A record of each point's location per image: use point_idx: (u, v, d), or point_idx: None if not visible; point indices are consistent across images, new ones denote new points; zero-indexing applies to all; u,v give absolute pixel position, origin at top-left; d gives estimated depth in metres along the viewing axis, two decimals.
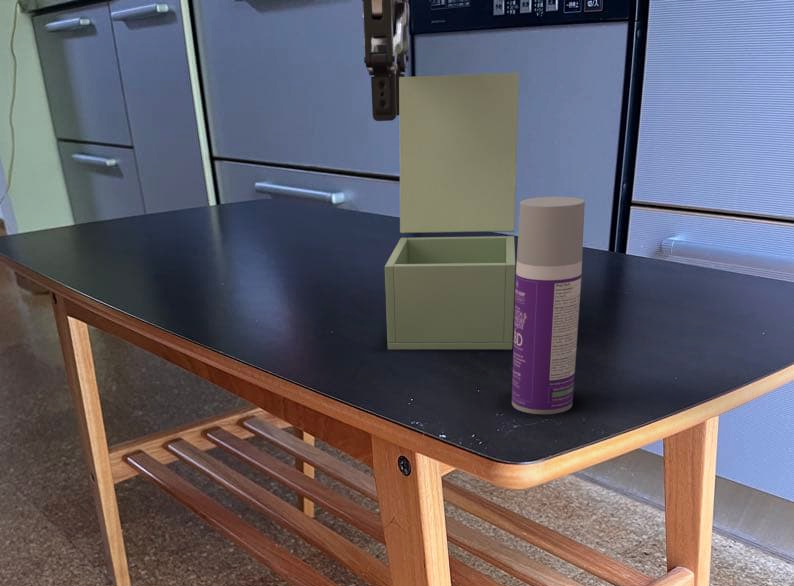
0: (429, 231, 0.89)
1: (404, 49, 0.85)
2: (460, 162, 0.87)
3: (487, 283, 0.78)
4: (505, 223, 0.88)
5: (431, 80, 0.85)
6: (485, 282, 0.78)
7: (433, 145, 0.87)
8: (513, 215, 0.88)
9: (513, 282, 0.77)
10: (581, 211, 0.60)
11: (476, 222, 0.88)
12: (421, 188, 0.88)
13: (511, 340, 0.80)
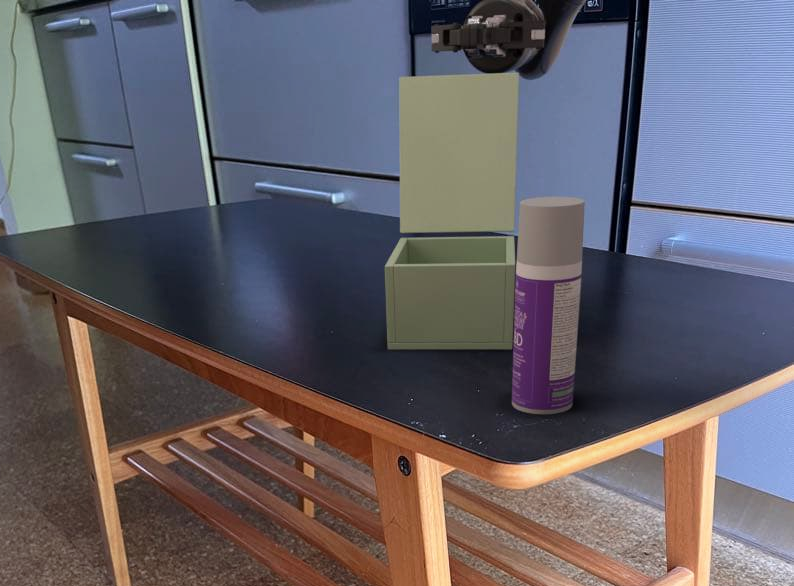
0: (429, 231, 0.89)
1: None
2: (460, 162, 0.87)
3: (487, 283, 0.78)
4: (505, 223, 0.88)
5: (431, 80, 0.85)
6: (485, 282, 0.78)
7: (433, 145, 0.87)
8: (513, 215, 0.88)
9: (513, 282, 0.77)
10: (581, 211, 0.60)
11: (476, 222, 0.88)
12: (421, 188, 0.88)
13: (511, 340, 0.80)
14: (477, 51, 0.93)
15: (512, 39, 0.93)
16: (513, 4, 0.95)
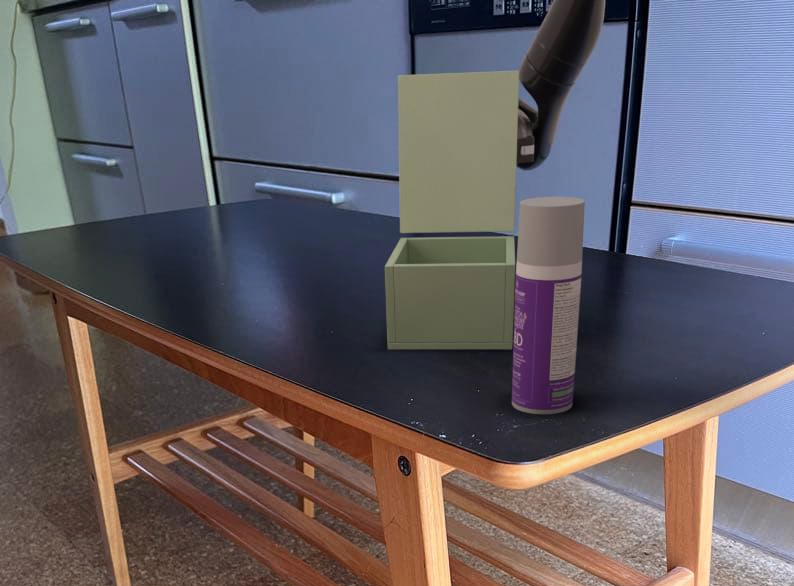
0: (429, 231, 0.89)
1: None
2: (460, 162, 0.86)
3: (487, 283, 0.78)
4: (505, 223, 0.88)
5: (430, 78, 0.84)
6: (485, 282, 0.78)
7: (433, 145, 0.86)
8: (513, 215, 0.87)
9: (513, 282, 0.77)
10: (581, 211, 0.60)
11: (476, 222, 0.88)
12: (421, 188, 0.88)
13: (511, 340, 0.80)
14: None
15: None
16: None
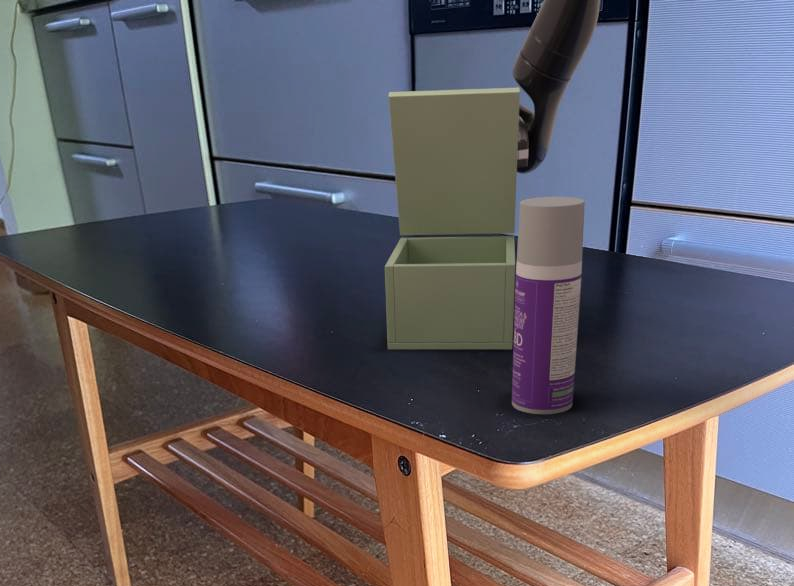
0: (429, 233, 0.89)
1: None
2: (458, 175, 0.83)
3: (487, 283, 0.78)
4: (505, 227, 0.88)
5: (423, 99, 0.78)
6: (485, 282, 0.78)
7: (429, 160, 0.82)
8: (513, 220, 0.87)
9: (513, 282, 0.77)
10: (581, 211, 0.60)
11: (476, 226, 0.88)
12: (419, 198, 0.86)
13: (511, 340, 0.80)
14: None
15: None
16: None
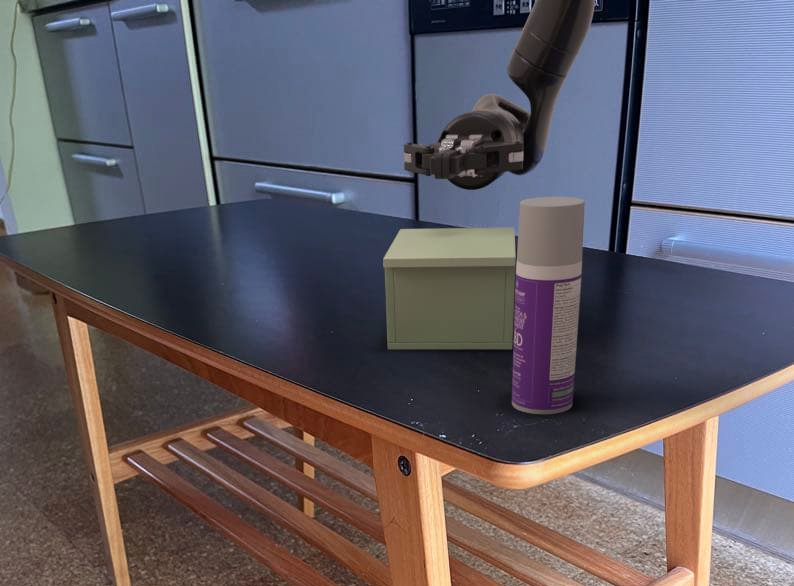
0: None
1: None
2: None
3: (487, 283, 0.78)
4: None
5: None
6: (485, 282, 0.78)
7: None
8: None
9: (513, 282, 0.77)
10: (581, 211, 0.60)
11: None
12: None
13: (511, 340, 0.80)
14: None
15: (489, 160, 0.88)
16: (490, 120, 0.90)
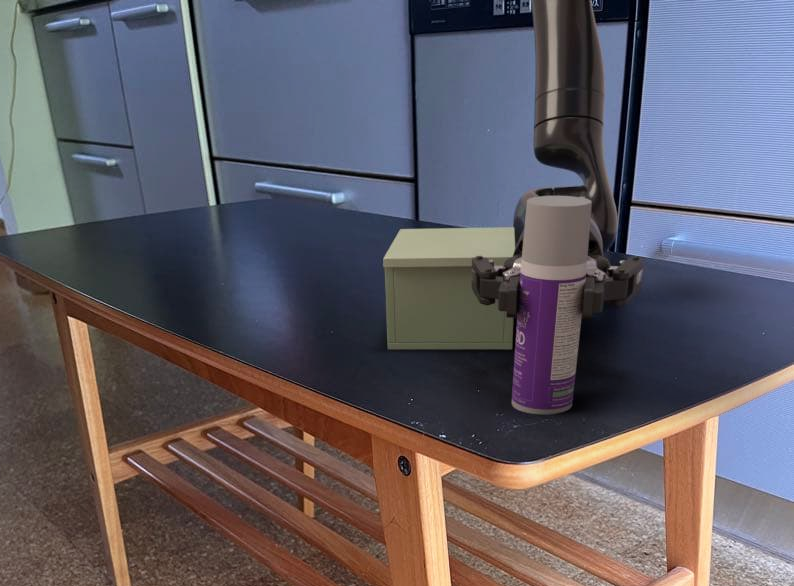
0: None
1: None
2: None
3: None
4: None
5: None
6: None
7: None
8: None
9: None
10: (588, 212, 0.60)
11: None
12: None
13: (511, 340, 0.80)
14: None
15: None
16: None
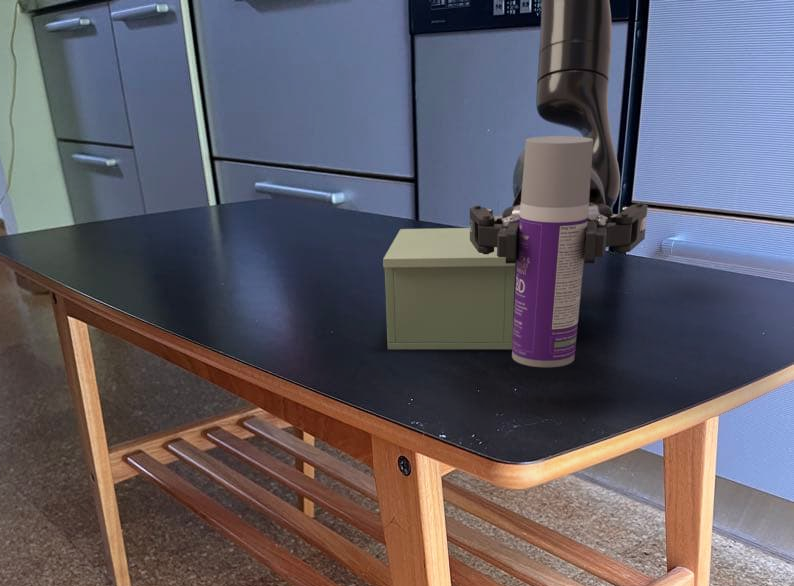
0: None
1: None
2: None
3: (487, 283, 0.78)
4: None
5: None
6: (485, 282, 0.78)
7: None
8: None
9: (513, 282, 0.77)
10: (589, 150, 0.57)
11: None
12: None
13: (511, 340, 0.80)
14: None
15: None
16: None
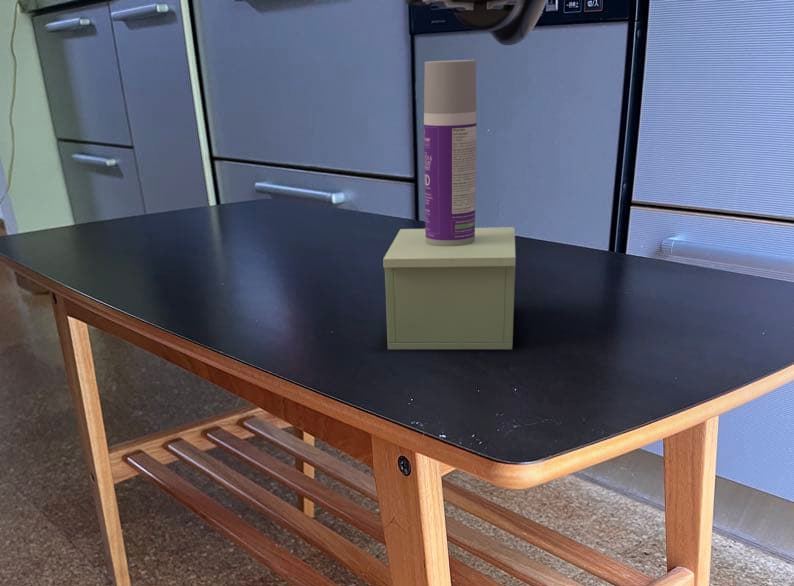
0: None
1: None
2: None
3: (487, 283, 0.78)
4: None
5: None
6: (485, 282, 0.78)
7: None
8: None
9: (513, 282, 0.77)
10: (472, 67, 0.74)
11: None
12: None
13: (511, 340, 0.80)
14: (443, 3, 0.88)
15: None
16: None
